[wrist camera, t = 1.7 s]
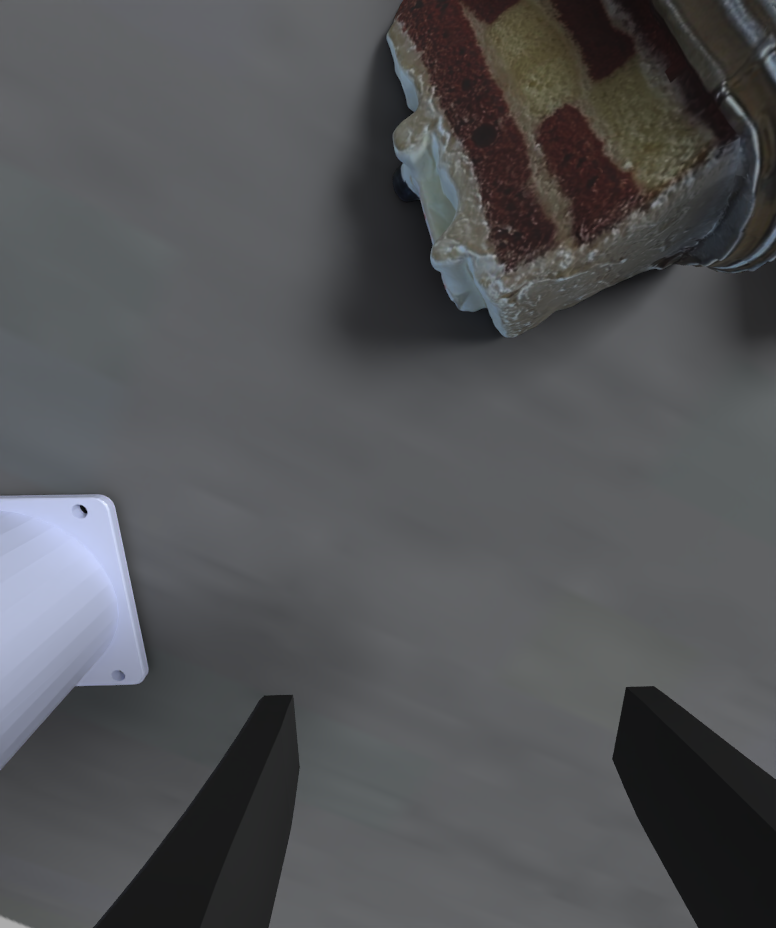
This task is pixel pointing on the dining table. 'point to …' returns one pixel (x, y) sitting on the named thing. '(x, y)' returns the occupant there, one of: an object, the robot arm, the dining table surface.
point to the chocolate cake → (585, 143)
